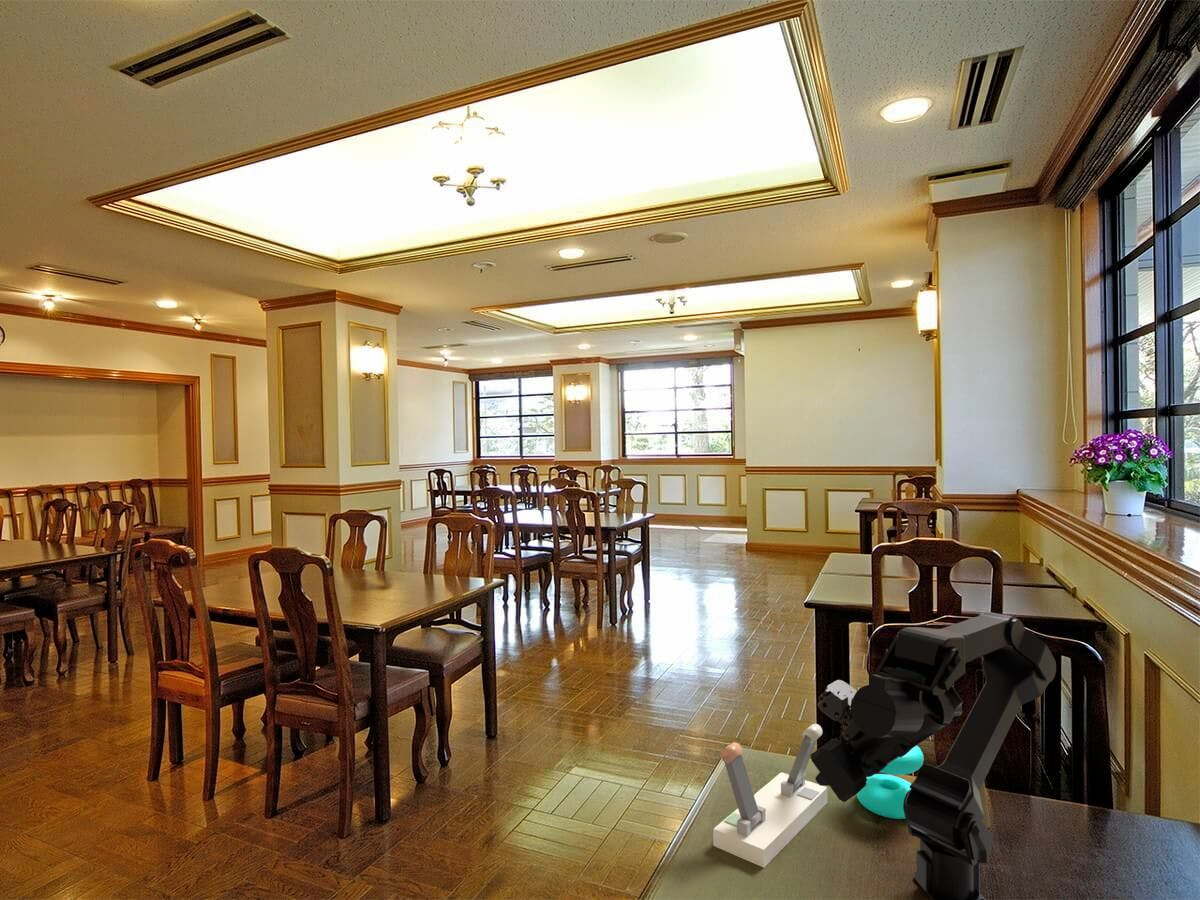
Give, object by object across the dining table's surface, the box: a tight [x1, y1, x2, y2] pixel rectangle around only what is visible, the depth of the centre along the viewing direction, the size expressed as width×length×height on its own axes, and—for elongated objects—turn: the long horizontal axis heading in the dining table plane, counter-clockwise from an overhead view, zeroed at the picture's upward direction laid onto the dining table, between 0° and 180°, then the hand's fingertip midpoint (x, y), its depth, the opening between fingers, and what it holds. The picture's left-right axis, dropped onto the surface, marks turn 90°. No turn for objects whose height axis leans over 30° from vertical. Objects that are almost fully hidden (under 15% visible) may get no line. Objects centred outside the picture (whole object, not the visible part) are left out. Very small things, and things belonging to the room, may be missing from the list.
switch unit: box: [712, 772, 828, 868], centre depth 105 cm, size 8×22×4 cm, turn 140°
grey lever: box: [786, 723, 824, 790], centre depth 110 cm, size 2×3×11 cm, turn 140°
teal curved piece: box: [855, 745, 924, 820], centre depth 110 cm, size 10×10×10 cm
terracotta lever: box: [719, 741, 761, 829], centre depth 101 cm, size 2×3×11 cm, turn 140°
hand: (818, 781), depth 94 cm, fingers closed
